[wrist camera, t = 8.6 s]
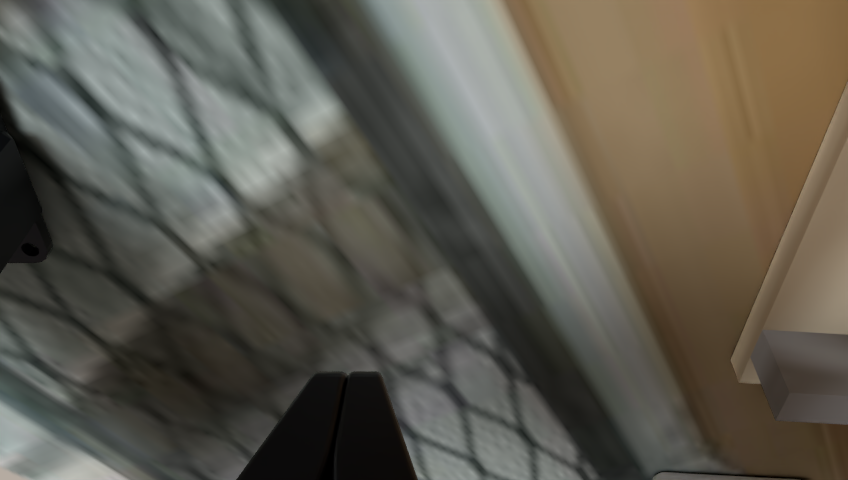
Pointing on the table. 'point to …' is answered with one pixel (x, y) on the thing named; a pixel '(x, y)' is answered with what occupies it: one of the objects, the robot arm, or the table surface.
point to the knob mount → (806, 298)
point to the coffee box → (705, 477)
